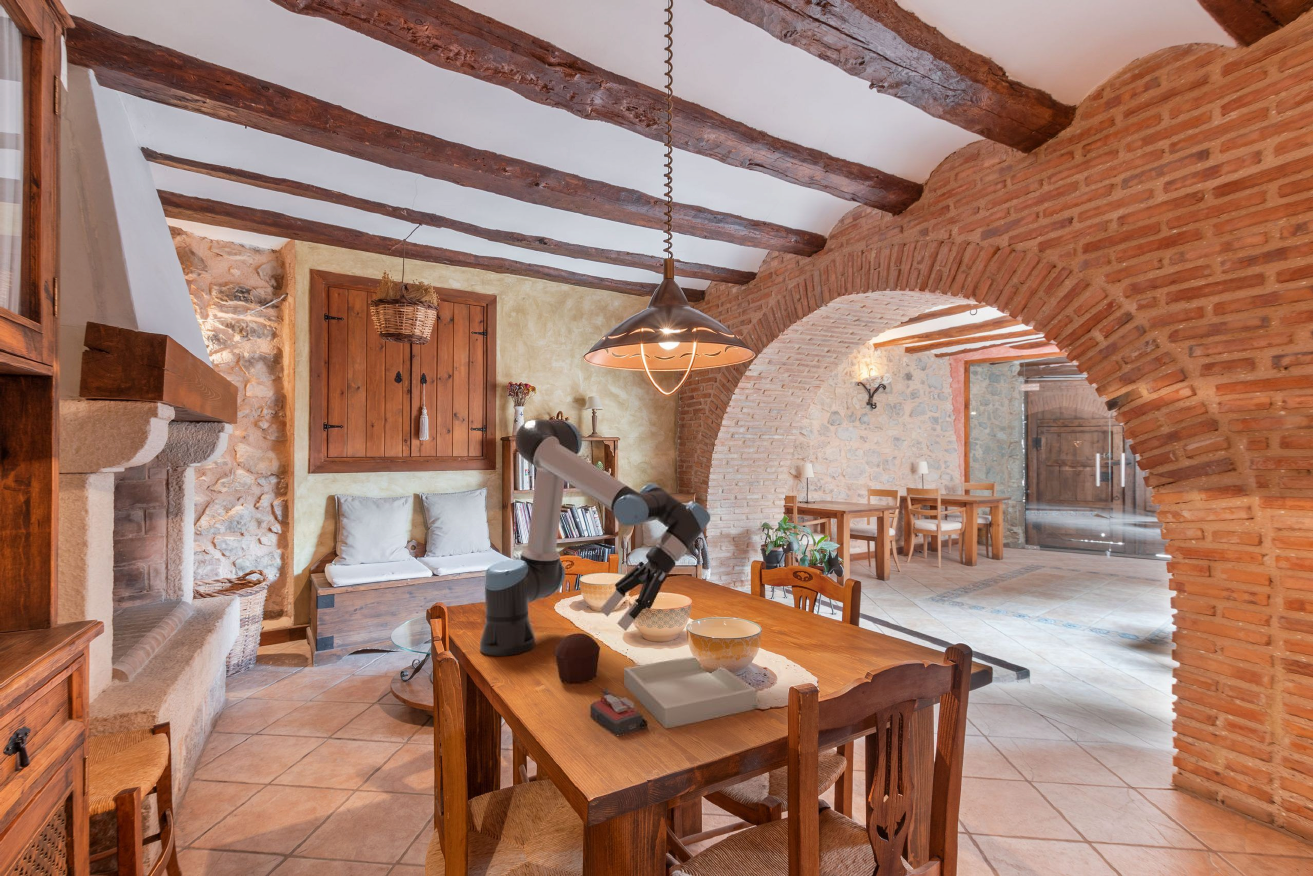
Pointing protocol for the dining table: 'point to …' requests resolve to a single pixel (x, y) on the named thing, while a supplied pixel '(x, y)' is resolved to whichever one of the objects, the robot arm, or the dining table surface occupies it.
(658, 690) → the tray
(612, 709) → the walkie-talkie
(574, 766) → the dining table surface
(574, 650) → the muffin
